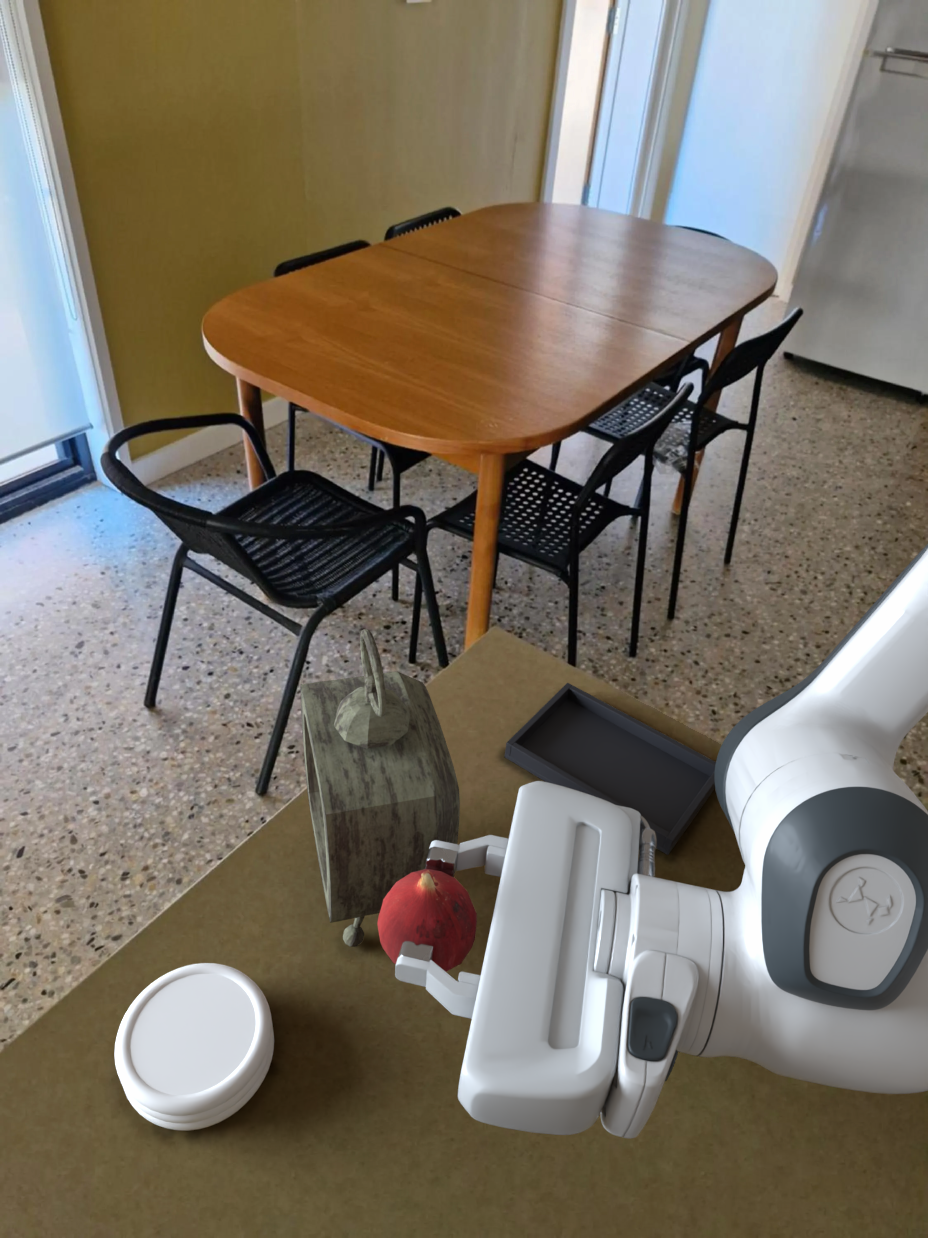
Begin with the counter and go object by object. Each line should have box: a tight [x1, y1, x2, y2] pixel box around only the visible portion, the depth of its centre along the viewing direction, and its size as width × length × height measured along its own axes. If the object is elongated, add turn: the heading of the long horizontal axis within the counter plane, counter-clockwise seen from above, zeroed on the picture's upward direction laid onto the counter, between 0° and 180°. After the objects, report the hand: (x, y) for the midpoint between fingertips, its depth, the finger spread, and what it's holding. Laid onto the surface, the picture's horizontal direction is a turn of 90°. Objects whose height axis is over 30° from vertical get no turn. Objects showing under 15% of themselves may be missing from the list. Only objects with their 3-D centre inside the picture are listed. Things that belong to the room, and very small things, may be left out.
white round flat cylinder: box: [113, 962, 275, 1131], centre depth 59 cm, size 10×10×4 cm
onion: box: [376, 869, 478, 973], centre depth 52 cm, size 6×6×8 cm
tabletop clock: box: [299, 628, 461, 948], centre depth 65 cm, size 14×9×25 cm, turn 15°
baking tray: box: [503, 682, 716, 856], centre depth 83 cm, size 17×11×2 cm, turn 53°
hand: (413, 906), depth 52 cm, fingers closed on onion, 5 cm apart
